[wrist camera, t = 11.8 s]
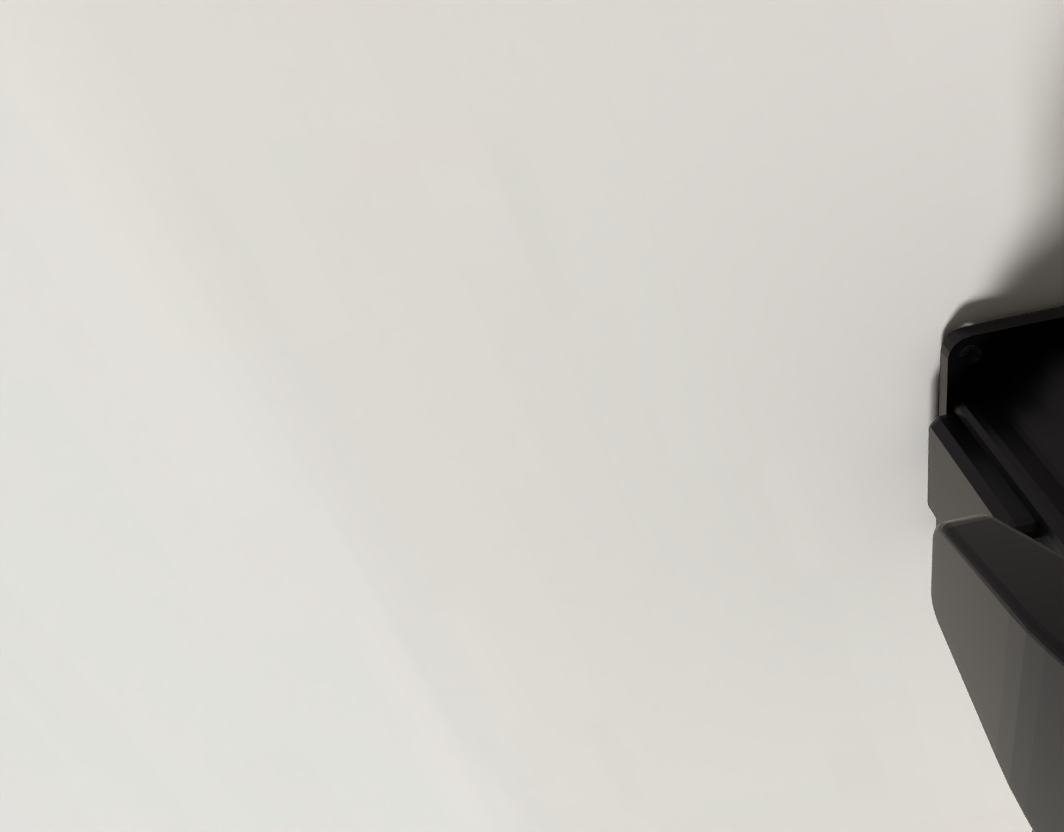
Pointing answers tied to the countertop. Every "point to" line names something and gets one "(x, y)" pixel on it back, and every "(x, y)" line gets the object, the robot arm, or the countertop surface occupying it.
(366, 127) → the countertop surface
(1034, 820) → the robot arm
